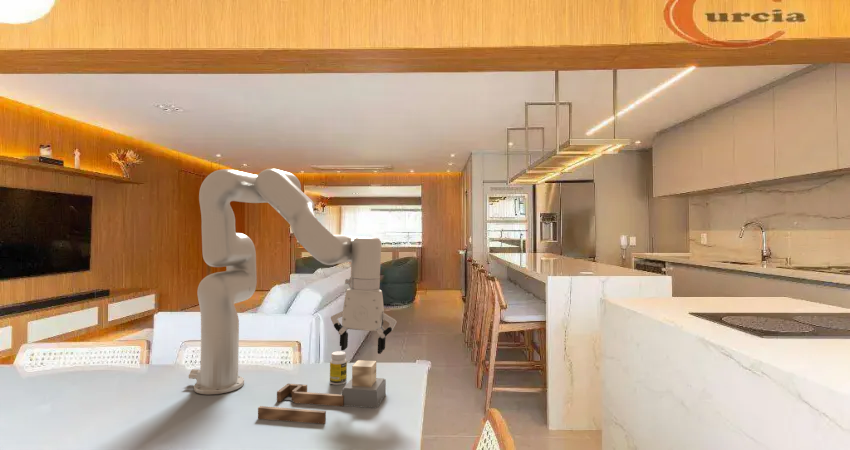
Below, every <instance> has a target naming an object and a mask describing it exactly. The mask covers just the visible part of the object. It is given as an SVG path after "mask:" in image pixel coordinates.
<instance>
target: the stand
mask: <svg viewBox="0 0 850 450" xmlns="http://www.w3.org/2000/svg"><path fill="white" fill-rule="evenodd" d="M386 384H387V381H386V378H383V377H382V378H381V377H376V381H375V383H374V384H373V385H372V387H363V386H352V378H351V379H350V380H349V381H348V382H347V383H346V384H345V385H344V387H342V389H341V395H343V396H344V406H343V407H357V408H358V407H360V408H371V409H377V408H379V406H380V404H381V402H382V401H383V400H384V397H385V396H386V395H387V394H386V390H387V388H386V386H387V385H386Z"/></svg>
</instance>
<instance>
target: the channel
mask: <svg viewBox="0 0 850 450" xmlns="http://www.w3.org/2000/svg"><path fill="white" fill-rule="evenodd" d="M283 401H284V402H285V401H289V402H293V403H294V404H303V405H318V406H330V407H331V406H333V407H334V406H335V407H345V406H344V396H343V395H342V394H338V393H337V394H336V393H324V392H310V391H308V384H298V383H287V384H285V385H283V387H281V388H280V389H279V390H277V391H276V402H277V403H278V402H279V403H281V402H283ZM326 416H327V411H326V410H319V409H318V410H317V409H316V410H315V409H304V408H294V407H293V408H290V407H278V406H276V407H274V406H263V405H260V406H258V407H257V419H258V420H269V421H270V420H271V421H282V422H293V423H295V422H296V423H310V424H322V425H324V424H325V423H326V422H327V421H326V420H327V418H326Z"/></svg>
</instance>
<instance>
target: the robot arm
mask: <svg viewBox="0 0 850 450" xmlns="http://www.w3.org/2000/svg"><path fill="white" fill-rule="evenodd" d="M198 201H199V207H200V215H201V216H200V217H201V251H202V258H203V261H204V262H205V263H206V265H207V266H209V267H212V268H223V267H226V270H225V271H217V272H214V273H210V274H208V275H206V276H205V277H204V278H202V279H201V281H200V282H199V284H198V286H197V292H196V293H197V294H196V295H197V299H198V305H199V312H200V369H195V368H194V369H191V370H190V372H189V374H188V379H192V380H195V379H196V382H195V383H194V385H193V391H194V392H195V393H197V394H200V395H209V396H210V395H221V394H225V393H230V392H234V391H236V390H238V389H240V388H242V387H243V386H244V385H245V379H244V377H242V376H240V375H239V354H240V353H239V347H240V346H239V339H240V330H239V329H240V326H239V325H240V323H239V321H240V320H239V315H238V311H237V308H236V306H235V304H239V303H242V302H244V301H247V300H249V299H250V298H252V297H253V295H254V294H255V293H256V289H257V279H258V277H257V253H256V246H255V244H254V242H253V240H252V239H251V238H250V237H249V236H248V235H246V234H244V233H242V232H236V217H235V216H236V215H235V212H234V211H233V208H232V206H231V202H239V203H249V204H250V203H251V204H260V203H261V204H262V203H264V204H265V203H268V204H269V205H270V206H271V207H272V208H273V209H274V210H275V211H276V212H277V213H278V214H279V215H280V216H281V217H282V218H283V219H284V220H285V221H286V222H287V223H288V224H289V225H290V228H291V231H292V233H293V235H294V237H295V239H296V240H297V241H298V243H299V244H300V245H301V246H302V247H303V248H304V249H305V251H306V252H308V253H309V254H310V255H311V256H312V257H313V258H314V259H315V260H316V261H318V262H320V264H322V265H326V266H333V265H336V264H337V265H338V264H345V263H350V277H349V278H345V280H344V283H345V285H348V286H349V287H348V288H347V289H346V292H345V296H344V299H343V300H344V301H343V307H342V308H343V309H342V311H340V312H338V313H336V314H333V315H331V316H330V320H331V322H332V324H333V327H334V328H335V330H336V331H337V333H338V335H339V346H340V351H343V352H344V351H345V350H346V349H347V348H348V346H349V345H348V344H349V341H348V340H349V333H348V330H355V331H368V332H376V333H377V335H378V336H379V337H378V338H377V354H379V355H381V354H382V353H383V351H385V350H386V349H385V348H386V339H387V337H386V336H387V335H389V334H390V333H391V332H392V331H393V330H394V328H395V326H396V324H397V322H398V321H397V320H396V319H395V318H394V317H392V316H390V315H388V314H387V313H386V312H384V311H385V308H384V307H385V305H384V297H383V295H384V294H383V291H382V290H381V289H380V283H381V277H380V276H381V259H382V241H381V239H380V238H379V237H374V236H353V235H347V234H332V233H331V232H330V231H329V230H328V229H327V228H326V227H325V226H324V225H323V224H322V223H321V222H320V221H319V220H318V218H317V217H316V215H315V213H314V209H315V202H314V201H313V200H312V199H311V198H310V197H309V196H308V195H307V194H306V193H305V192H303V191H302V185H301V181H300V180H299V178H298V177H297V176H296V175H294V174H293V173H291V172H289V171H284V170H281V169H277V168H266V169H264V170H262V171H260V172H259V173H258V174H256V173H254V174H253V173H249V172H245V171H240V170H236V169H230V168H228V169H227V168H225V169H217V170H214V171H213V172H211V173H209V174H208V175H207V176H206V177H205V178H204V180H203V181H202V182H201V185H200V188H199V195H198ZM340 318H341V323H340V322H339V319H340ZM384 322H387V323H389V325H388V326H387V328H386V329H385V327H384V326H383V325H384Z"/></svg>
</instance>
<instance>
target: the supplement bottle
mask: <svg viewBox="0 0 850 450" xmlns="http://www.w3.org/2000/svg"><path fill="white" fill-rule="evenodd" d="M346 354H347V353H346V352H345V351H344V350H343V351H342V350H339V351H338V350H337V351H333V352H332V353H331V359H330V360H329V383H330V384H331V385H332V386H333V385H334V386H341V385H345V384H347V383H346V382H347V379H348V377H347V376H348V375H347V373H348V372H347V365H348V361H347V359H346V357H347V355H346Z"/></svg>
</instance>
